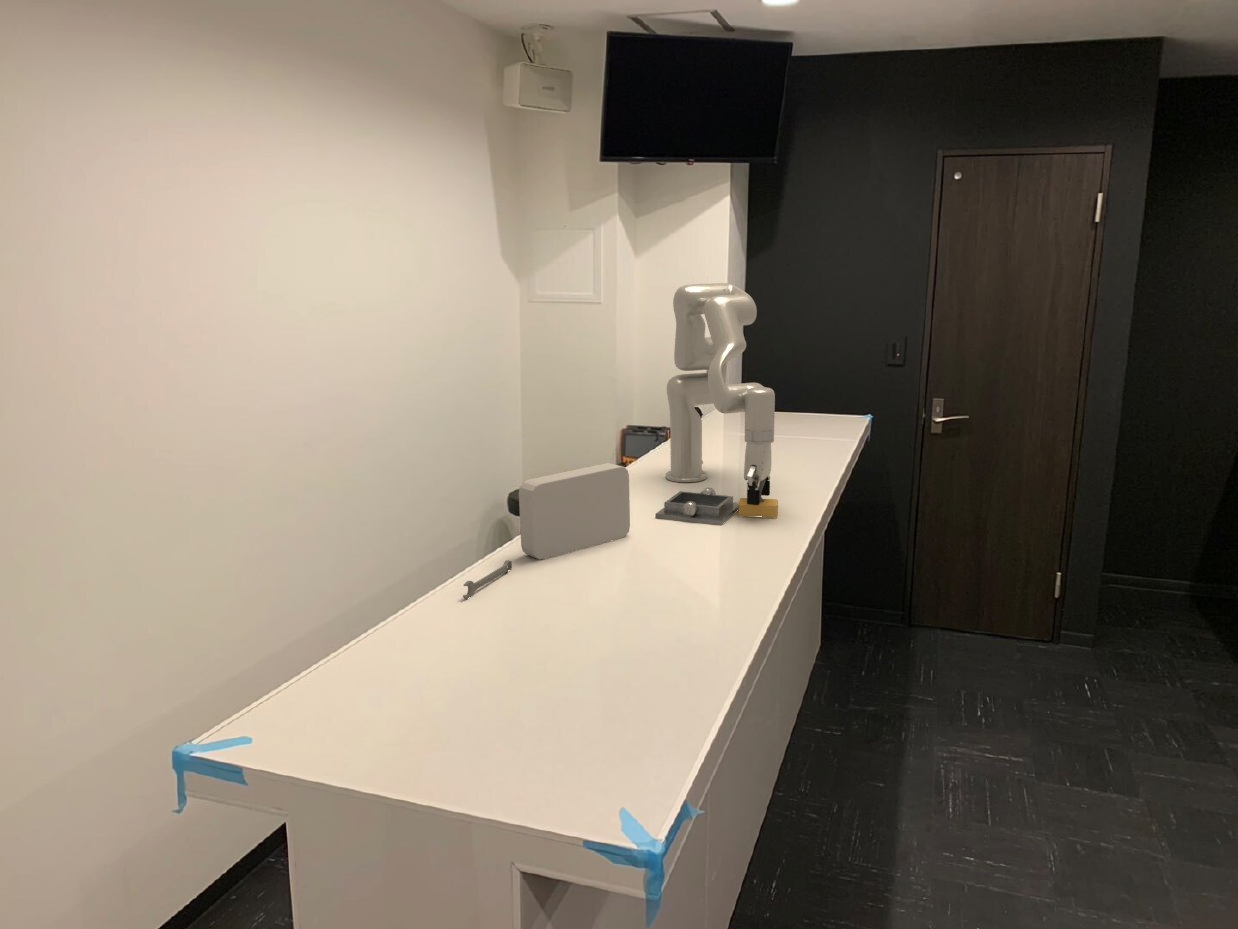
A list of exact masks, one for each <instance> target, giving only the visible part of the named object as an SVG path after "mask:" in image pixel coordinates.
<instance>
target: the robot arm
mask: <svg viewBox="0 0 1238 929" xmlns="http://www.w3.org/2000/svg"><path fill="white" fill-rule="evenodd" d="M750 295H751V294H749V293H747V292H746V291H745V290H744V289H741V288H739V287H738V286H736V285H735V284H732V283H730V282H729V283H727V282H722V283H721V282H719V283H695V284H693V283H692V284H685V285H682V286H680V287H678V288H677V289H676V291H675V292H674V294H673V298H672V299H673V300H672V301H673V302H672V304H673V305H672V306H673V307H672V308H673V312H674V316H675V317H674V318H675V338H674V355H673V357H674V359H673V360H674V365H675V367H676V369H679V371H684V372H688V371H690V373H682V374H678V375H674V376H672V377H671V378H670V379H669V380H668V381H667V383H666V396H667V400H668V406H669V421H670V422H669V427H670V430H669V431H670V433H669V434H670V435H669V436H670V438H669V439H670V444H669V445H670V471H667V472H666V473H665V478H666V480H668V481H672V482H677V483H697V482H702V481H705V480H706V479H707V478H708V473H707V472H706V471H704V470H703V465H704V461H703V421H702V417H701V416H700V414H699V412H698V411H697V409H695V407H696V406H701V405H703V406H704V405H712V404H713V406H714V407H715V409H716V410H717V411H718V412H719V413H721V414H736V413H744V443H746V445H745V450H744V451H745V454H744V463H743V464H744V467H743V468H744V469H743V479H744V481H747V482H746V498H747V504H749V505H759V504H760V490H758V489H759V484H760V481H762V480H764V479H765V478H766V480H765V484H764V486H763V489H762V492H761V496H765V497H766V496H767V497H768V496H770V495H771V493H770V492H771V476H770V475H771V472H772V444H773V443H774V442H775V405H776V403H775V402H776V397H775V396H776V393H775V391H774V390H773V389H772V388H771V387H765V386H763V385H762V384H761V383H758V382H745V383H730V384H729V383H728V384H726V381H727V372H728V371H727V368H728V362H729V361H731V360H733V359H735V358H737V357H738V356H740V355H741V354H743V352H745V350H746V348H747V341H746V340H745V336H744V332H743V329H742V326H749V325H752V324H753V323H754V322H755V321H756V319H757V314H758V313H757V311H758V309H757V305H756V303H755V301H754V299H753V297H752V296H750ZM702 315H704V317H705V320H704V318H703V316H702ZM706 324H707V328H708V331H709V336H706V335H705V334H706ZM691 371H705V372H695V373H694V372H693V373H691ZM755 482H757V483H756V484H755Z"/></svg>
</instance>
